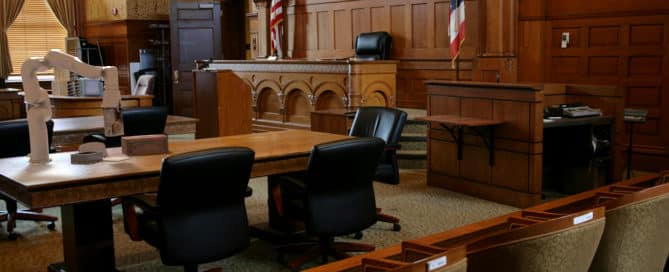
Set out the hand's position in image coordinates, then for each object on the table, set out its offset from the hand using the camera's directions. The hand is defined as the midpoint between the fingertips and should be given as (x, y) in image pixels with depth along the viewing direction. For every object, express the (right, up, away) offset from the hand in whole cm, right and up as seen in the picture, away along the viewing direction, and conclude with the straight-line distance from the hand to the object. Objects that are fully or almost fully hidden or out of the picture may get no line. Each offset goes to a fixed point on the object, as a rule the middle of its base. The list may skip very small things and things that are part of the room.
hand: (113, 118), depth 405 cm
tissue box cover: (+9, -21, +33) cm, 40 cm away
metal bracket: (-14, -25, -3) cm, 29 cm away
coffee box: (0, -10, +1) cm, 10 cm away
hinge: (-17, -23, +17) cm, 33 cm away
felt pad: (0, -24, +3) cm, 24 cm away
